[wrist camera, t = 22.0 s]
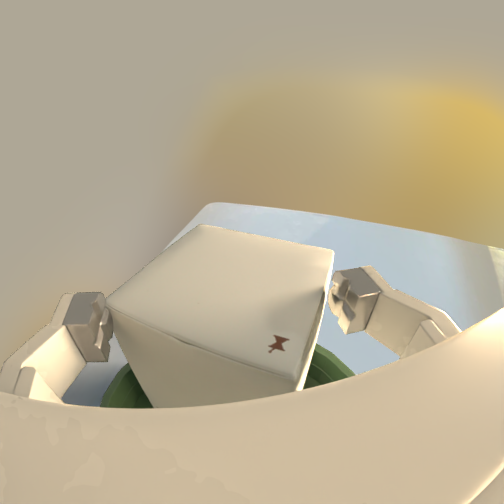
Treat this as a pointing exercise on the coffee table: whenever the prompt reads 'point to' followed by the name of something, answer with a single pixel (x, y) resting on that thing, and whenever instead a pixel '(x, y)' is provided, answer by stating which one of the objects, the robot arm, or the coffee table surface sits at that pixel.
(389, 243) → the coffee table surface
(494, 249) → the coffee table surface
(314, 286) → the white packaging box
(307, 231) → the coffee table surface
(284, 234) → the coffee table surface
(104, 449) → the robot arm
